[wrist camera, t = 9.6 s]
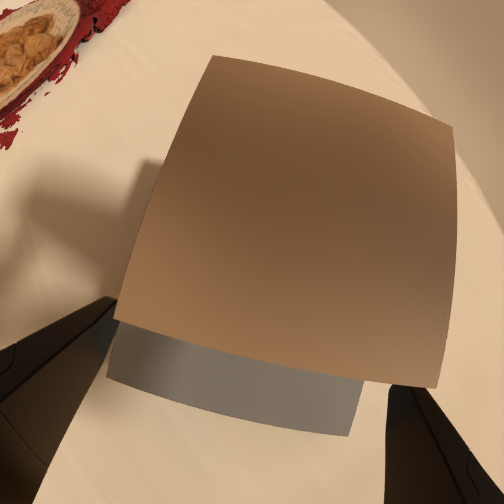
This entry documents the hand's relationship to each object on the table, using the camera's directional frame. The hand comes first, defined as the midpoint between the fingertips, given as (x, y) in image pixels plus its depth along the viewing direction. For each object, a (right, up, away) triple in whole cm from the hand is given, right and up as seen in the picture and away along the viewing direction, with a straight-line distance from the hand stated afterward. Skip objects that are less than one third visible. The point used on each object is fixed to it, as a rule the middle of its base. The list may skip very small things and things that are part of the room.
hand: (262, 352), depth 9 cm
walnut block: (0, +1, +8) cm, 8 cm away
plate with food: (-30, +25, +16) cm, 42 cm away
